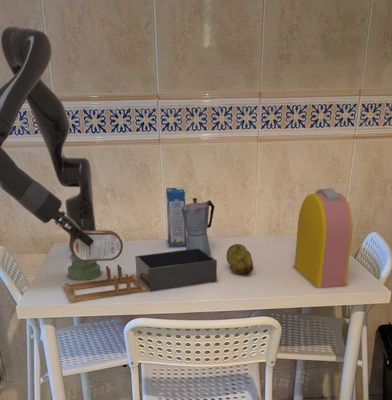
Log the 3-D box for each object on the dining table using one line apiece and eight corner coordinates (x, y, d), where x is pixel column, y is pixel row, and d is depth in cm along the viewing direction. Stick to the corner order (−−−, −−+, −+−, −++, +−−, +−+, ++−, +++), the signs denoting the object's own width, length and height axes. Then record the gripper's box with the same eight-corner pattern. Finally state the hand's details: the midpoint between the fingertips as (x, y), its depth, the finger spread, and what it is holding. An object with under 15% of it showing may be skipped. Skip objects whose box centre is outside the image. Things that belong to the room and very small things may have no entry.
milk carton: (168, 240, 197) (166, 188, 188) (183, 239, 198) (182, 187, 188) (169, 247, 188) (167, 192, 179) (186, 246, 189) (184, 192, 180)
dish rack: (64, 287, 150) (62, 271, 148) (134, 277, 158) (133, 262, 155) (72, 302, 140) (69, 285, 137) (146, 291, 147) (145, 275, 144)
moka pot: (173, 256, 177) (171, 199, 168) (203, 247, 187) (202, 192, 178) (193, 261, 172) (192, 202, 162) (222, 252, 182) (223, 195, 172)
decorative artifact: (101, 278, 157) (99, 268, 166) (98, 256, 154) (97, 248, 163) (68, 281, 156) (69, 271, 164) (65, 259, 152) (66, 250, 161)
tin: (121, 258, 148) (121, 229, 145) (124, 260, 145) (123, 231, 142) (69, 260, 142) (68, 230, 139) (71, 262, 140) (70, 232, 137)
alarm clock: (346, 285, 149) (358, 194, 137) (317, 287, 148) (327, 196, 135) (319, 264, 167) (328, 182, 155) (293, 266, 166) (300, 183, 154)
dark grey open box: (136, 276, 158) (135, 255, 155) (199, 268, 165) (198, 248, 162) (150, 291, 146) (148, 269, 143) (216, 281, 153) (216, 260, 150)
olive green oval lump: (226, 277, 157) (227, 252, 153) (226, 265, 168) (226, 241, 164) (253, 277, 156) (254, 252, 153) (250, 265, 168) (251, 241, 164)
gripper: (51, 194, 125) (103, 237, 135) (44, 185, 137) (93, 226, 146) (32, 217, 126) (86, 259, 136) (27, 207, 138) (77, 245, 147)
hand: (89, 241), depth 141 cm, fingers closed on tin, 2 cm apart
